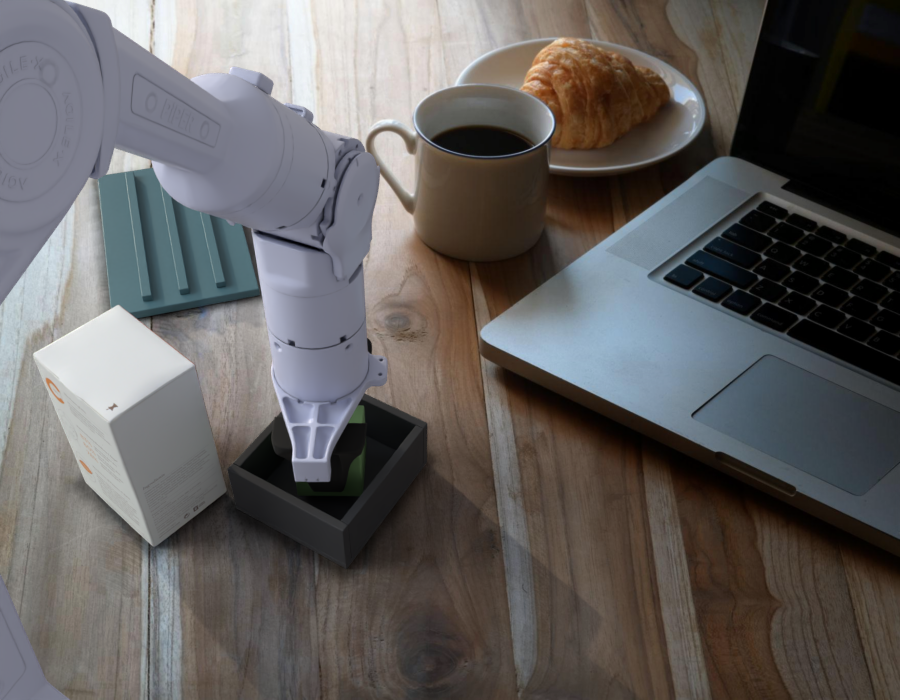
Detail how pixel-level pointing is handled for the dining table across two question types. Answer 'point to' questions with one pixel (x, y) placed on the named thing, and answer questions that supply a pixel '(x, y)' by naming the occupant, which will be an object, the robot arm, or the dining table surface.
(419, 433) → the dark grey open tray
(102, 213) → the drainboard
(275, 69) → the dining table surface
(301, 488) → the block
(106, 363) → the small box
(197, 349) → the dining table surface
